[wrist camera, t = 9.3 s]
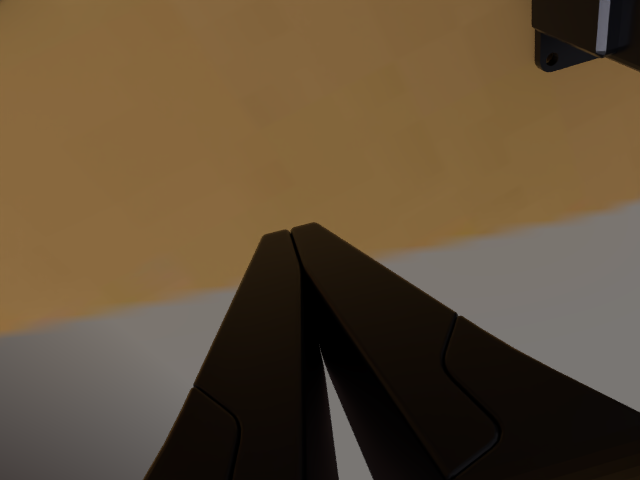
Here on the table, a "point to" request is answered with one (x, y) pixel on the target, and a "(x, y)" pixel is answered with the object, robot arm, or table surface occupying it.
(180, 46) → the table surface
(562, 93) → the table surface
